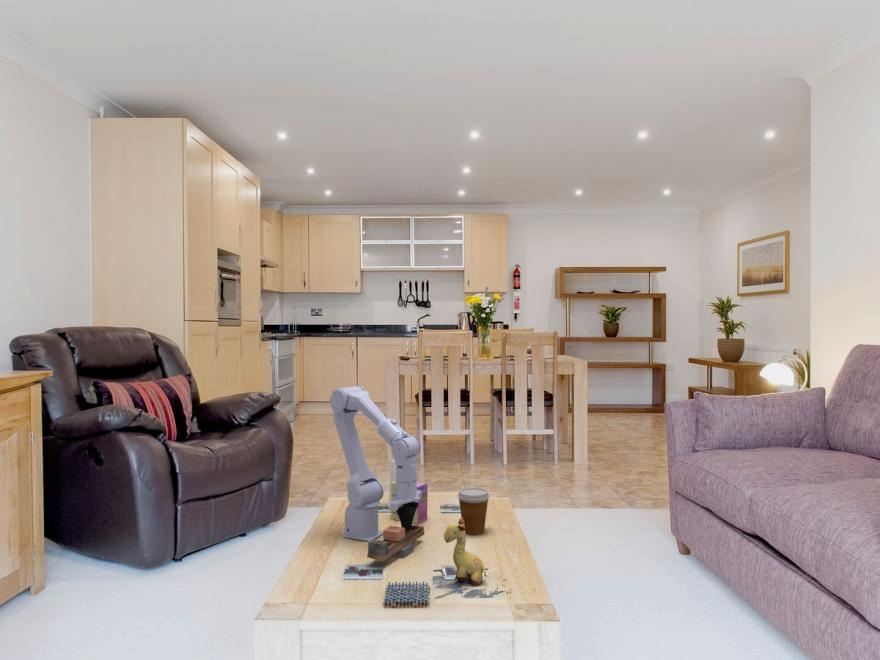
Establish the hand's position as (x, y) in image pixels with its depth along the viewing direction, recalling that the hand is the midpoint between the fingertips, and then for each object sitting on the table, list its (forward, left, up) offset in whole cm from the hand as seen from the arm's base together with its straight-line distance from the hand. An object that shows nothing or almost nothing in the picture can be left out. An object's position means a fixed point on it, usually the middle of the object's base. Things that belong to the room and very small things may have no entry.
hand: (406, 529), depth 167 cm
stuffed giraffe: (+26, -14, -5) cm, 30 cm away
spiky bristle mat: (+16, -28, -6) cm, 32 cm away
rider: (0, -7, -2) cm, 7 cm away
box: (-11, +21, -5) cm, 25 cm away
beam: (0, -5, -5) cm, 7 cm away
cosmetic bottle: (-21, +30, -5) cm, 37 cm away
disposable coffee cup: (+12, +19, -5) cm, 23 cm away
